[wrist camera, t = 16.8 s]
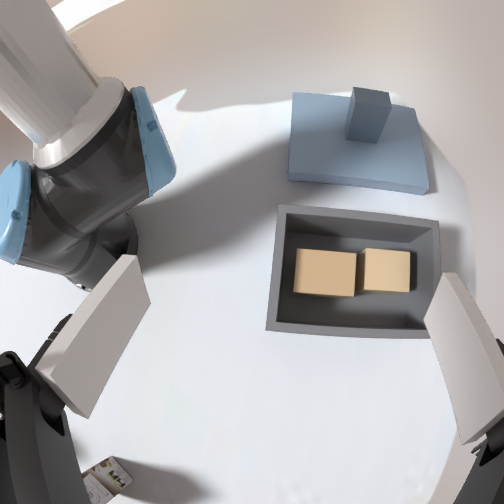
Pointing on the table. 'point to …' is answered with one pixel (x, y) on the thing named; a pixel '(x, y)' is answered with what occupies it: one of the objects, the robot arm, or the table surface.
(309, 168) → the lid
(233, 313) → the table surface
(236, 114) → the table surface
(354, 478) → the table surface
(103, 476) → the coffee box
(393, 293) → the storage box
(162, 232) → the table surface
